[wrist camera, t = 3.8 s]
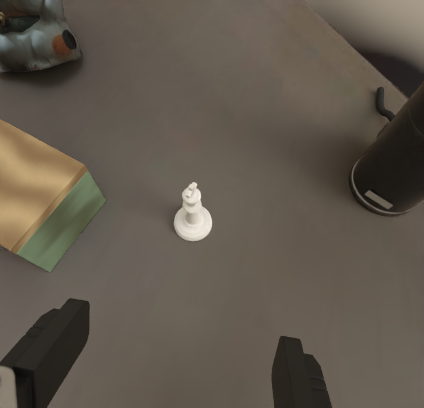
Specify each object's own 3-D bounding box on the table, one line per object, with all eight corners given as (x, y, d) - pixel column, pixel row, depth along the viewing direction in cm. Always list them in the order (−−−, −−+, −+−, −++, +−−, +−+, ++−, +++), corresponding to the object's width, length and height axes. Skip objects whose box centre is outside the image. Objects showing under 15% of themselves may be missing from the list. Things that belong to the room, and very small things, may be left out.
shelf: (14, 149, 46) (-26, 104, 38) (106, 200, 43) (84, 164, 35) (-48, 211, 41) (-109, 175, 33) (49, 272, 39) (9, 250, 30)
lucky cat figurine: (-21, 72, 51) (-70, -37, 43) (42, 56, 60) (12, -38, 52) (42, 81, 45) (0, -44, 37) (103, 62, 54) (79, -43, 46)
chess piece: (167, 231, 41) (157, 196, 32) (184, 200, 43) (181, 158, 34) (201, 247, 40) (202, 216, 31) (218, 215, 42) (223, 176, 33)
